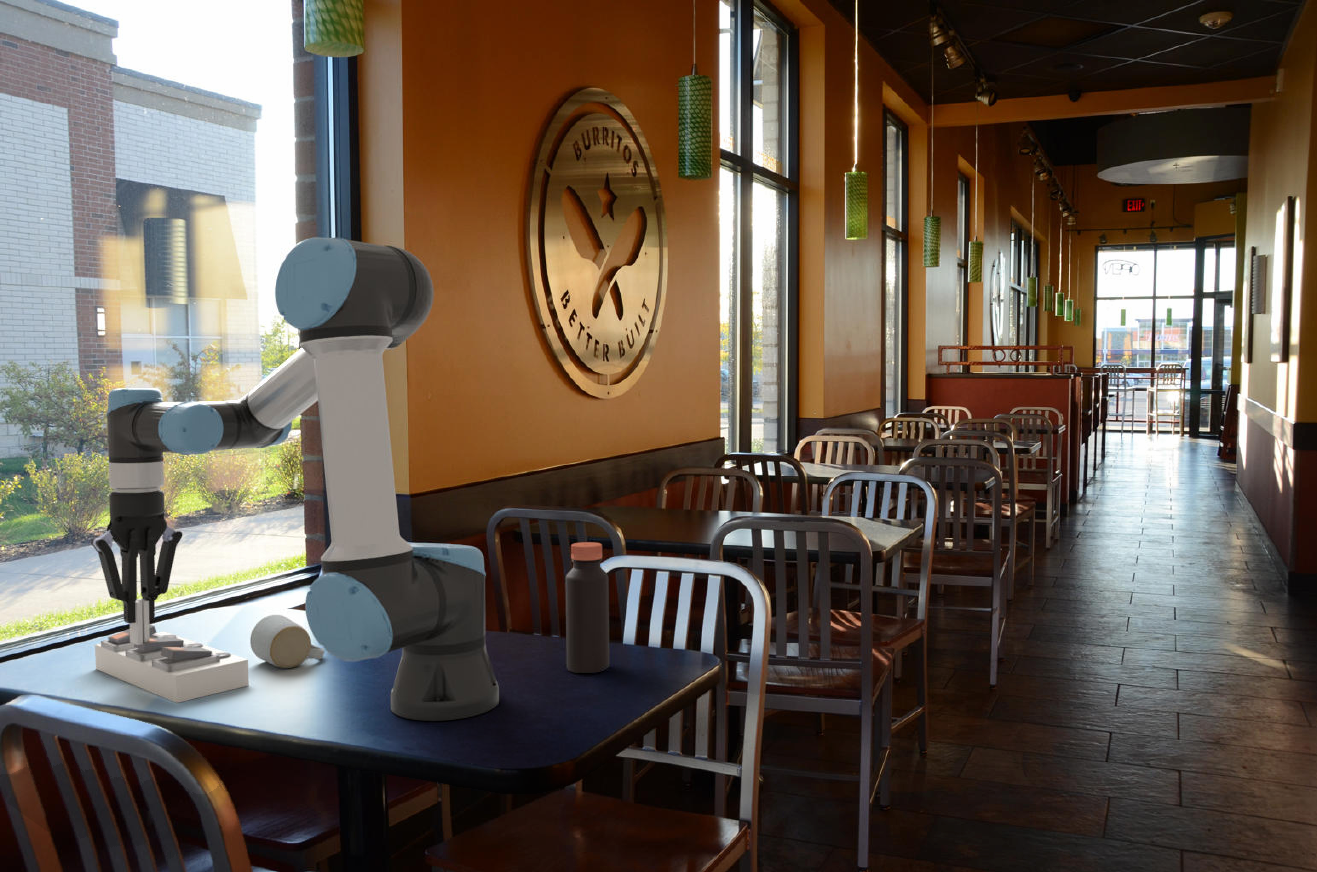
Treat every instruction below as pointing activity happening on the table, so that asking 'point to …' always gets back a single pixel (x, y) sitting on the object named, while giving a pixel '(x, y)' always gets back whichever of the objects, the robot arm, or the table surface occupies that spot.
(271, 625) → the ceramic mug
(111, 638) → the rocker
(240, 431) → the robot arm
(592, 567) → the bottle
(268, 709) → the table surface
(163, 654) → the rocker
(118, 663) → the white rocker switch box
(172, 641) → the rocker middle
